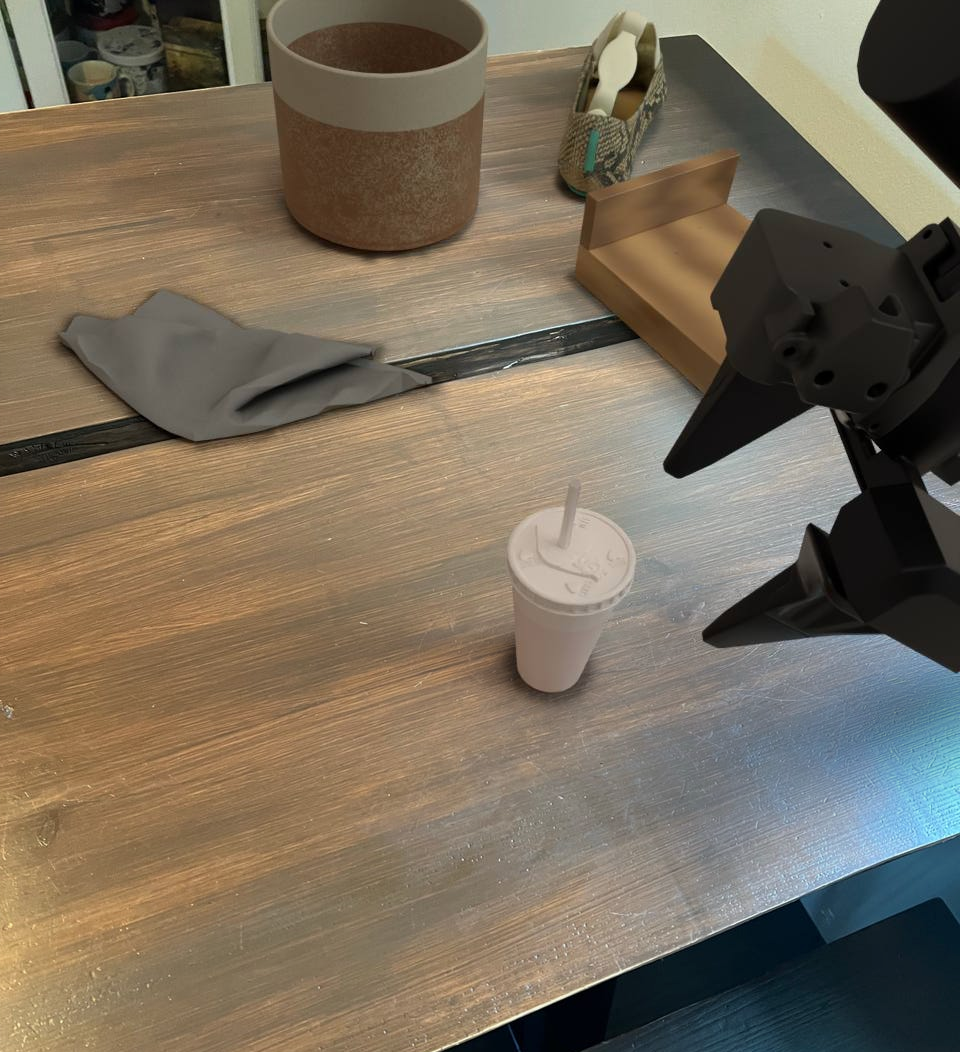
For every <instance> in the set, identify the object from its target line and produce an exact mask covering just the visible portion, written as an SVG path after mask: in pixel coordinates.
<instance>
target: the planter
mask: <svg viewBox="0 0 960 1052" xmlns="http://www.w3.org/2000/svg"><path fill="white" fill-rule="evenodd" d="M265 28H266V37H267V38H266V39H267V47H268V56H269V58H268V59H269V66H270V74H271V76H270V77H271V85H272V95H273V103H274V111H275V122H276V130H277V131H276V132H277V140H278V150H279V158H280V168H281V177H282V178H281V179H282V187H283V195H284V201H285V204H286V207H287V209H288V211H289V213H290V214H291V215H292V217H293V218H294V219H295V221H297V222H298V223H299V224H300V225H301V226H302V227H303V228H304V229H306V230H308V231H309V232H310V233H312V234H314V235H316V236H317V237H320V238H322V239H324V240H327V241H329V242H332V243H334V244H338V245H341V246H344V247H349V248H354V249H358V250H366V251H376V252H377V251H378V252H379V251H380V252H382V251H383V252H391V251H405V250H411V249H417V248H422V247H426V246H428V245H429V246H430V245H432V244H435V243H438V242H440V241H443V240H445V239H447V238H449V237H451V236H453V235H455V234H456V233H457V232H460V230H462V229H463V228H464V227H465V226H466V225H467V224H468V223H469V222H470V221H471V219H472V218H473V216H474V215H475V213H476V211H477V209H478V205H479V195H480V181H481V180H480V179H481V162H482V149H483V148H482V146H483V131H484V114H485V113H484V112H485V98H486V96H485V95H486V80H487V63H488V46H489V45H488V44H489V26H488V22H487V21H486V18H485V17H484V15H483V14H482V13H481V11H480V10H479V9H478V7H476V6H475V5H474V4H472V3H471V2H470V1H469V0H277V1H276V2H275V3H274V4H273V5H272V7H271V8H270V9H269V12H268V13H267V16H266V21H265Z"/></svg>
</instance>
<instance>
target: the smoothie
mask: <svg viewBox="0 0 960 1052" xmlns="http://www.w3.org/2000/svg"><path fill="white" fill-rule="evenodd" d="M582 484H583V483H582V481H581V479H579V478H571V479H570V480H569V482H568V487H567V488H568V489H567V493H566V499H565V500H566V501H565V505H564V506H555V507H548V508H544V509H541V510H538V511H536V512H534V513H532V514H529V515H528V516H526V517H525V518H524V519H522V520H521V521H520V522H519V523H518V524H517V525H516V526H515V527H514V529H513V531H512V532H511V534H510V537H509V539H508V543H507V548H506V553H505V558H504V565H505V571H506V576H507V578H508V580H509V582H510V583H511V591H512V604H513V621H514V638H515V639H514V641H515V656H516V669H517V672H518V674H519V676H520V678H521V680H523V681H524V682H525V683H526V684H527V685H528V686H529V687H531V688H533V689H534V690H537V691H540V692H544V693H559V692H563V691H566V690H568V689H570V688H571V687H573V686H574V685H575V684H576V683H577V682H578V681H579V679H580V678H581V675H582V673H583V671H584V669H585V667H586V666H587V663H588V661H589V659H590V657H591V655H592V653H593V651H594V649H595V647H596V644H597V643H598V641H599V639H600V636H601V634H602V633H603V630H604V628H605V626H606V625H607V623H608V620H609V618H610V616H611V614H612V612H613V610H614V608H615V606H616V605H618V604H619V603H620V602H621V601H622V600H623V599H625V597H626V595H628V593H629V591H630V589H631V586H632V585H633V582H634V580H635V579H634V577H635V569H636V566H637V565H636V563H637V559H636V558H637V556H636V552H635V548H634V545H633V543H632V541H631V539H630V537H629V536H628V535H627V533H626V532H625V531H624V529H622V527H620V526H619V525H618V524H617V523H615V522H614V521H613V520H611V519H610V518H608V517H607V516H605V515H603V514H601V513H599V512H596V511H593V510H590V509H588V508H582V507H578V504H579V499H580V494H581V489H582Z"/></svg>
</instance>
